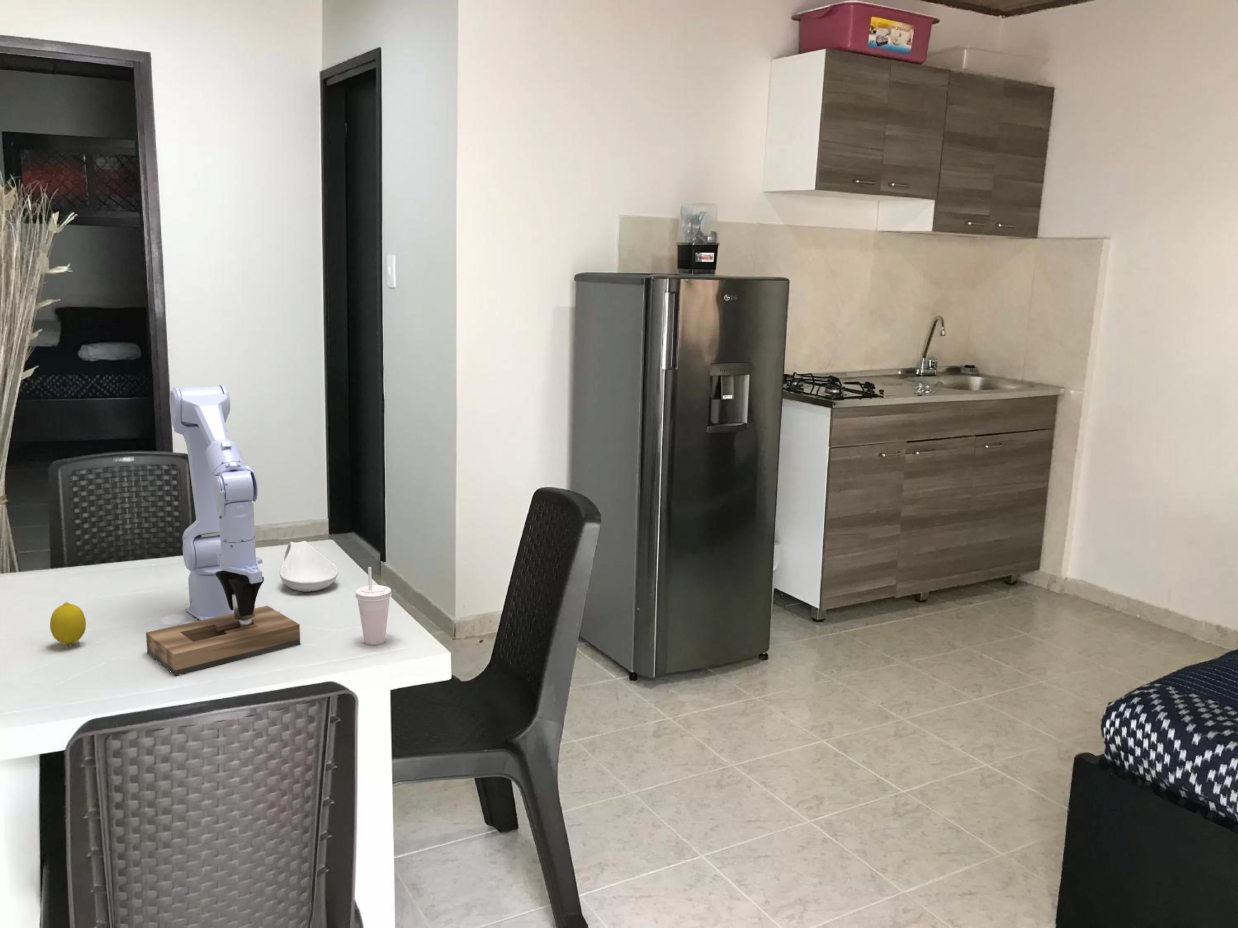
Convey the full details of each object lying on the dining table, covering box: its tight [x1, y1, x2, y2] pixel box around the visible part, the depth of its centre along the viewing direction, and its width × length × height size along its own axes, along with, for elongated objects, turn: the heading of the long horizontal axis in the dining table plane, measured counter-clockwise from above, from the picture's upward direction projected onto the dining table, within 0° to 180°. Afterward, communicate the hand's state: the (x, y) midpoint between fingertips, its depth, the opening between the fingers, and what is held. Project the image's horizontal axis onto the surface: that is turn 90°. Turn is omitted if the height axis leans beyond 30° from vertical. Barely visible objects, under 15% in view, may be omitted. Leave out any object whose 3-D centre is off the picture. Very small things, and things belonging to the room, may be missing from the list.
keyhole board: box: [145, 605, 301, 676], centre depth 180 cm, size 13×22×4 cm, turn 133°
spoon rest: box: [279, 540, 339, 593], centre depth 219 cm, size 24×12×7 cm, turn 28°
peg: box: [232, 592, 256, 627], centre depth 182 cm, size 5×5×8 cm
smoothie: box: [354, 566, 392, 646], centre depth 184 cm, size 6×6×14 cm
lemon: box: [49, 601, 87, 646], centre depth 179 cm, size 6×6×8 cm
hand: (241, 611), depth 181 cm, fingers closed on peg, 4 cm apart
